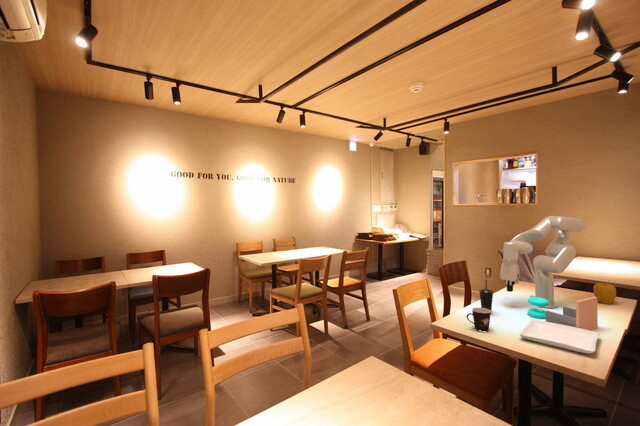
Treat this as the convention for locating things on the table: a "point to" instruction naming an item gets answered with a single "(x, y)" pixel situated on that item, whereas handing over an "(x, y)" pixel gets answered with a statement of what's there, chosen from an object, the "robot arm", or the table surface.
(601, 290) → the apple
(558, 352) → the table surface
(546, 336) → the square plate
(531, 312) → the donuts
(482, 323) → the coffee mug
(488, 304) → the drinking cup
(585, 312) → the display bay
